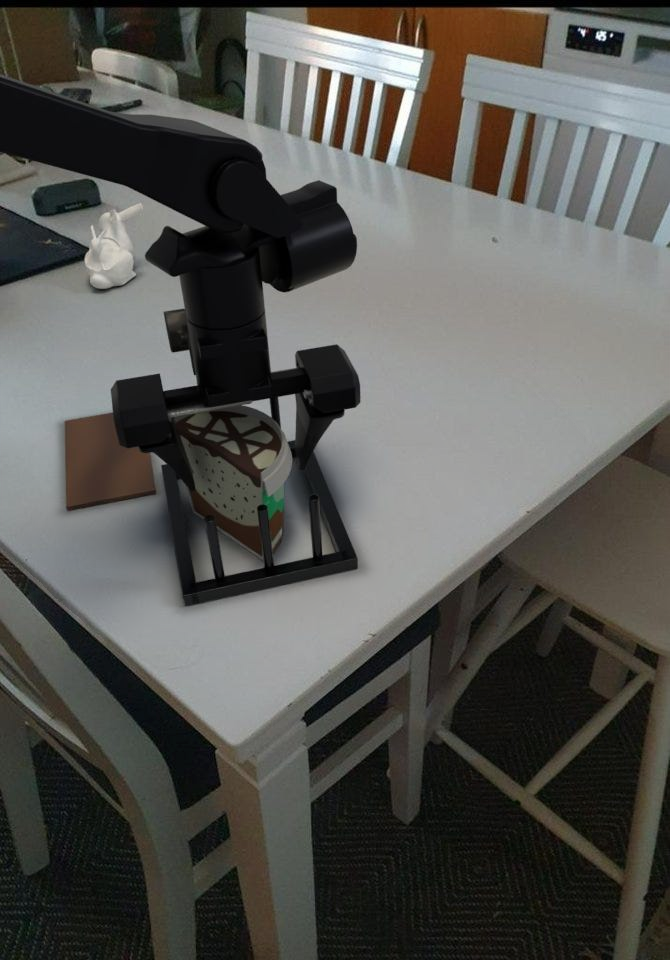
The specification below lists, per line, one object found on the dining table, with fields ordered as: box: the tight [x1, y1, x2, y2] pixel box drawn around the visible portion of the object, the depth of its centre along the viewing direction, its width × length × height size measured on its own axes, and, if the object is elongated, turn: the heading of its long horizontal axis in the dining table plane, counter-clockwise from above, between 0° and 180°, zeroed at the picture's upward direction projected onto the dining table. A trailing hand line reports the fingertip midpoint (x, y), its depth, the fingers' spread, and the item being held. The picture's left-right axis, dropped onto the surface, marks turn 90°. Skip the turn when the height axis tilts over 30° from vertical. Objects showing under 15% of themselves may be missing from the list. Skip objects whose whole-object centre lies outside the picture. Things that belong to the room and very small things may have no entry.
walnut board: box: [64, 412, 157, 511], centre depth 79 cm, size 8×14×1 cm, turn 15°
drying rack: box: [160, 397, 359, 607], centre depth 69 cm, size 14×17×8 cm
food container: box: [174, 405, 293, 562], centre depth 68 cm, size 12×6×10 cm, turn 47°
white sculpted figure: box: [84, 202, 144, 290], centre depth 107 cm, size 12×8×10 cm, turn 167°
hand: (247, 477), depth 68 cm, fingers open, 9 cm apart
